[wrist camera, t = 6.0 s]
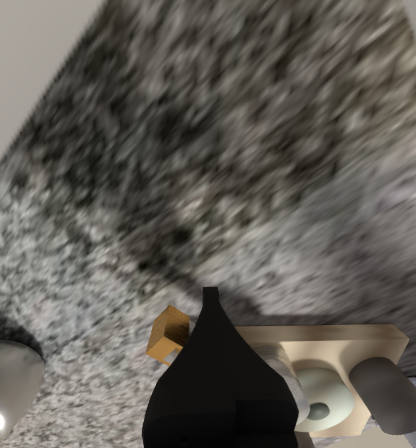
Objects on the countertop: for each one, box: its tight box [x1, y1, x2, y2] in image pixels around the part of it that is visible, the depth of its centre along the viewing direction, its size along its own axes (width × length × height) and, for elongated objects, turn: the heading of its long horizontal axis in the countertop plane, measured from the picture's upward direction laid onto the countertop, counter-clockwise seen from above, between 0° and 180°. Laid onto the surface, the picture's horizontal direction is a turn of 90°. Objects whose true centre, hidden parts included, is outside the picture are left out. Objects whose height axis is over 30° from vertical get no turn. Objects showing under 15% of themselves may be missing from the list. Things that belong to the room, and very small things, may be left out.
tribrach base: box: [235, 324, 416, 448], centre depth 17 cm, size 18×15×5 cm
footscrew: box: [145, 305, 310, 425], centre depth 13 cm, size 4×12×3 cm, turn 49°
